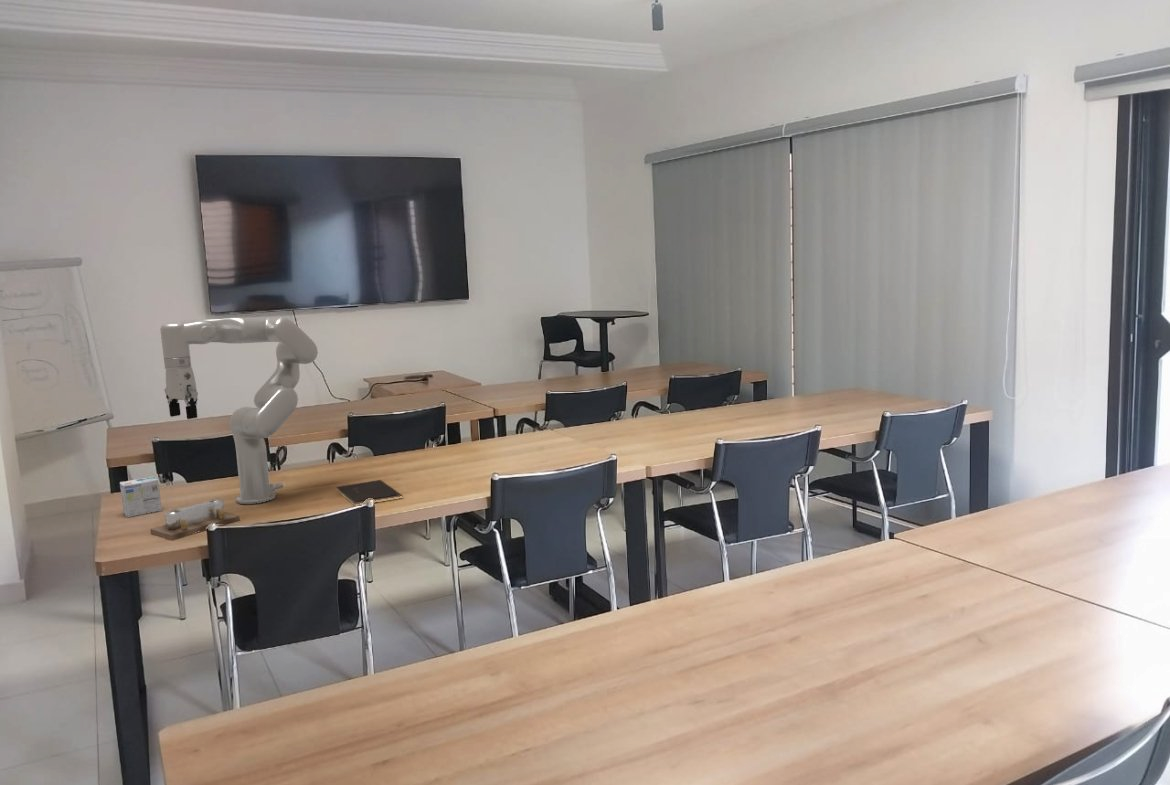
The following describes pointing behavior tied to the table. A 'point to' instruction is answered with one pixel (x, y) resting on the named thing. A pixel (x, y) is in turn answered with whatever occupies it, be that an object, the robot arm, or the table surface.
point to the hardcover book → (368, 491)
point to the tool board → (193, 526)
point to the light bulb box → (140, 496)
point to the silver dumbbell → (194, 514)
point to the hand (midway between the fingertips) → (183, 417)
